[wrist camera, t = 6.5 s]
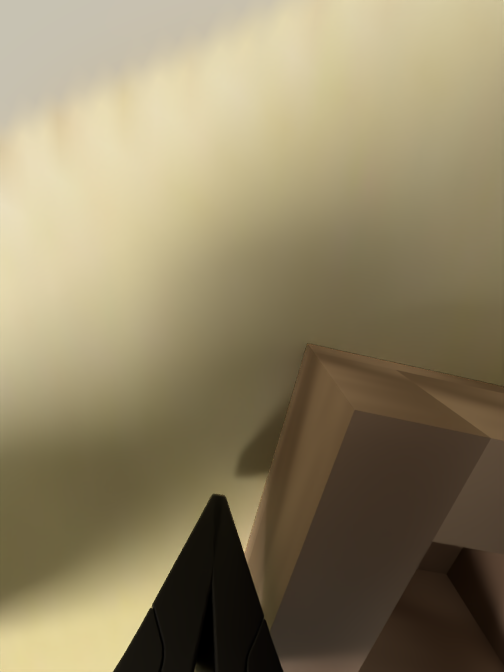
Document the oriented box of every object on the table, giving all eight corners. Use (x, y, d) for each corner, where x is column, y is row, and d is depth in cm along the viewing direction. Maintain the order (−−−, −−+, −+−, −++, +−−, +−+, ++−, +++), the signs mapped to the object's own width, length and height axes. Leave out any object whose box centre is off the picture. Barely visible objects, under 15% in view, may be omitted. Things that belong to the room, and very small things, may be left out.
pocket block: (242, 557, 11) (235, 722, 7) (306, 341, 8) (354, 409, 4) (457, 594, 11) (565, 767, 7) (584, 402, 9) (856, 514, 5)
